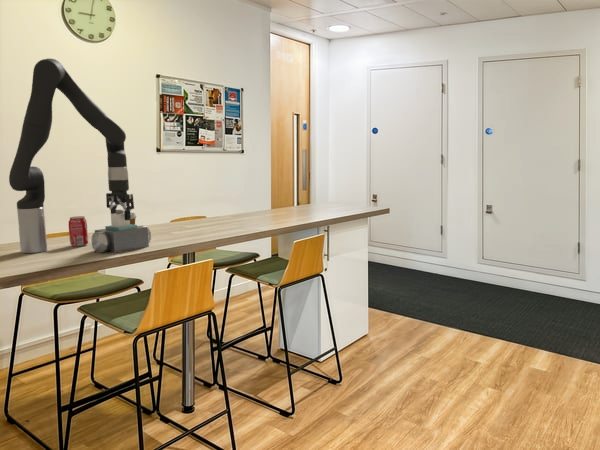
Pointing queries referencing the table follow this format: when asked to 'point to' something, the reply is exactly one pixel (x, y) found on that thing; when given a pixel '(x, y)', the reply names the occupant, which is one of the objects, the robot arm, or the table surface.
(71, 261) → the table surface
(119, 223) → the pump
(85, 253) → the table surface
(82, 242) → the soda can
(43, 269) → the table surface
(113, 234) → the motor
